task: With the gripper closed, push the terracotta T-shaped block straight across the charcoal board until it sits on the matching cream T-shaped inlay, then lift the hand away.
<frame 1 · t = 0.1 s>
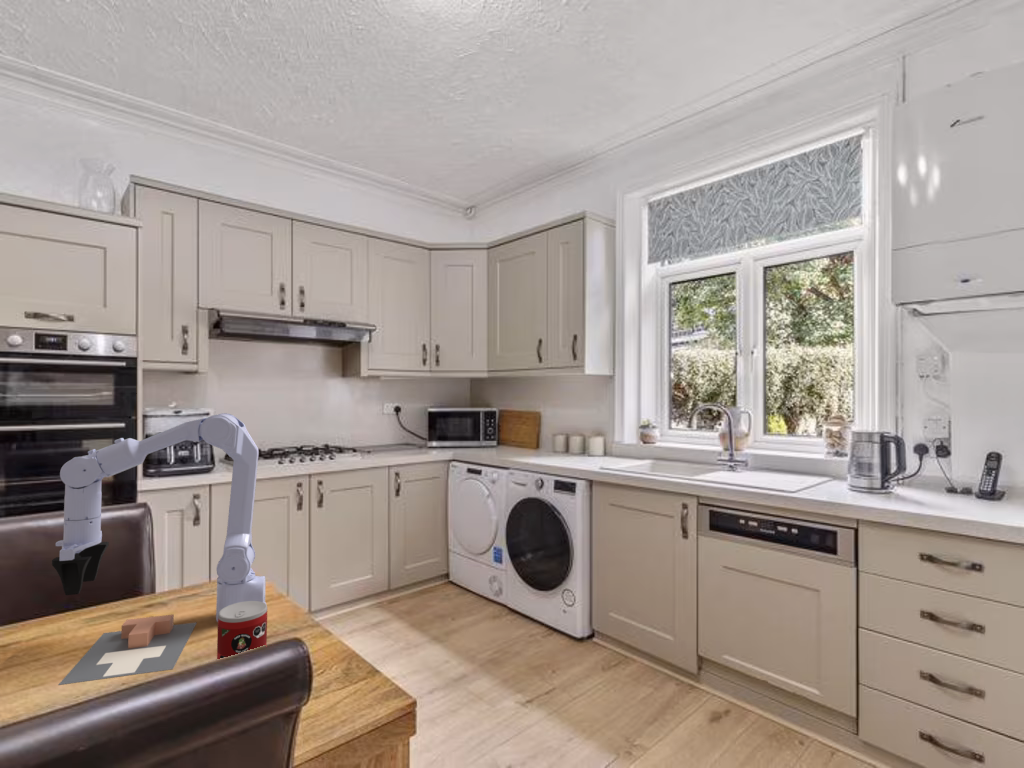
hand: (80, 587, 105), 10 cm above the table, tool pointing down, fingers open, 7 cm apart
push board: (135, 655, 99), on the table
t block: (147, 632, 106), point 1 cm above the table, touching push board
canned food: (241, 674, 93), on the table
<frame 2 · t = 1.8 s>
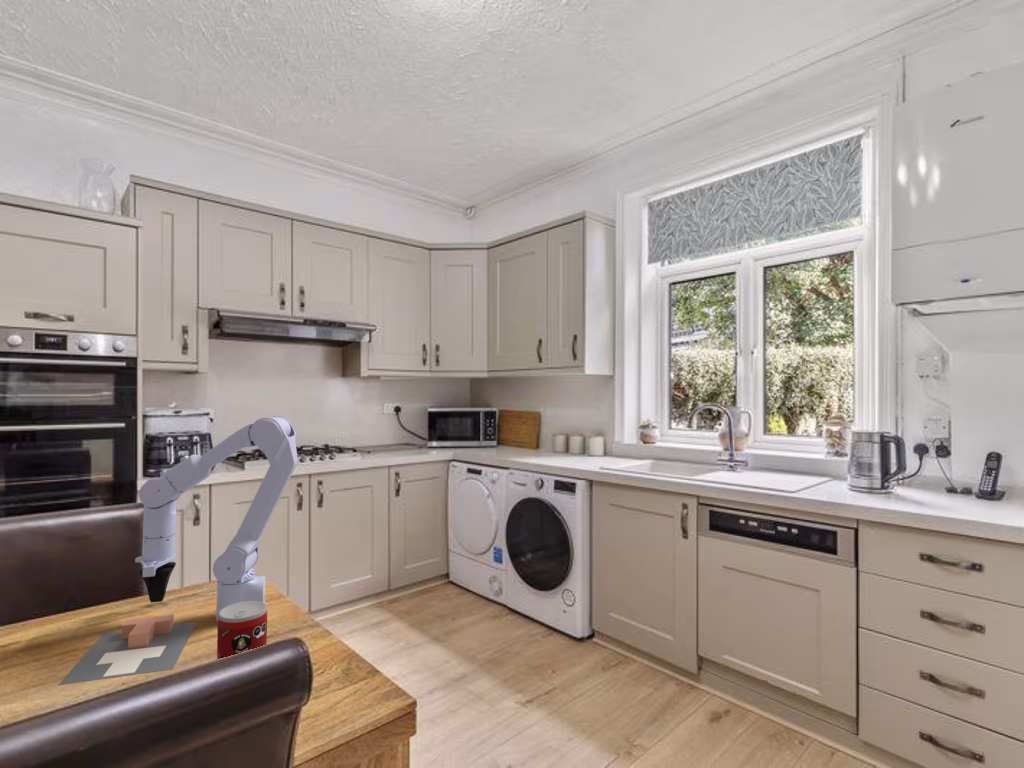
hand: (157, 600, 112), 5 cm above the table, tool pointing down, fingers closed
nothing on the table moved.
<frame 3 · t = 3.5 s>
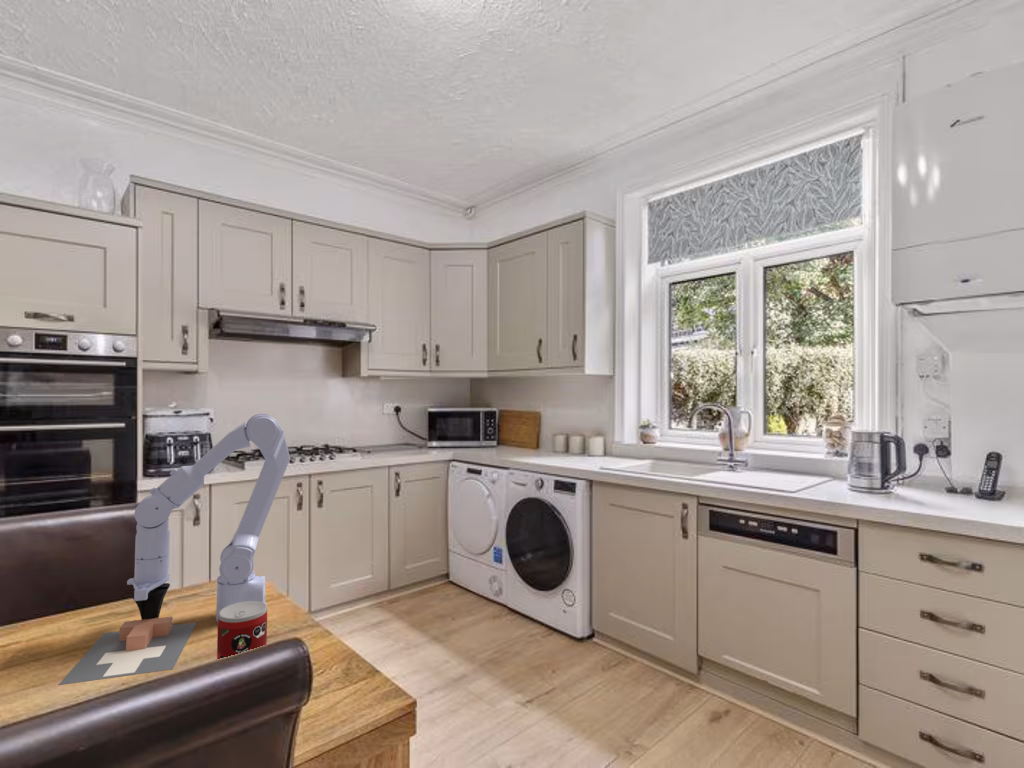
hand: (150, 624, 108), 2 cm above the table, tool pointing down, fingers closed
t block: (146, 634, 105), point 1 cm above the table, touching gripper, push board
everything else where it was.
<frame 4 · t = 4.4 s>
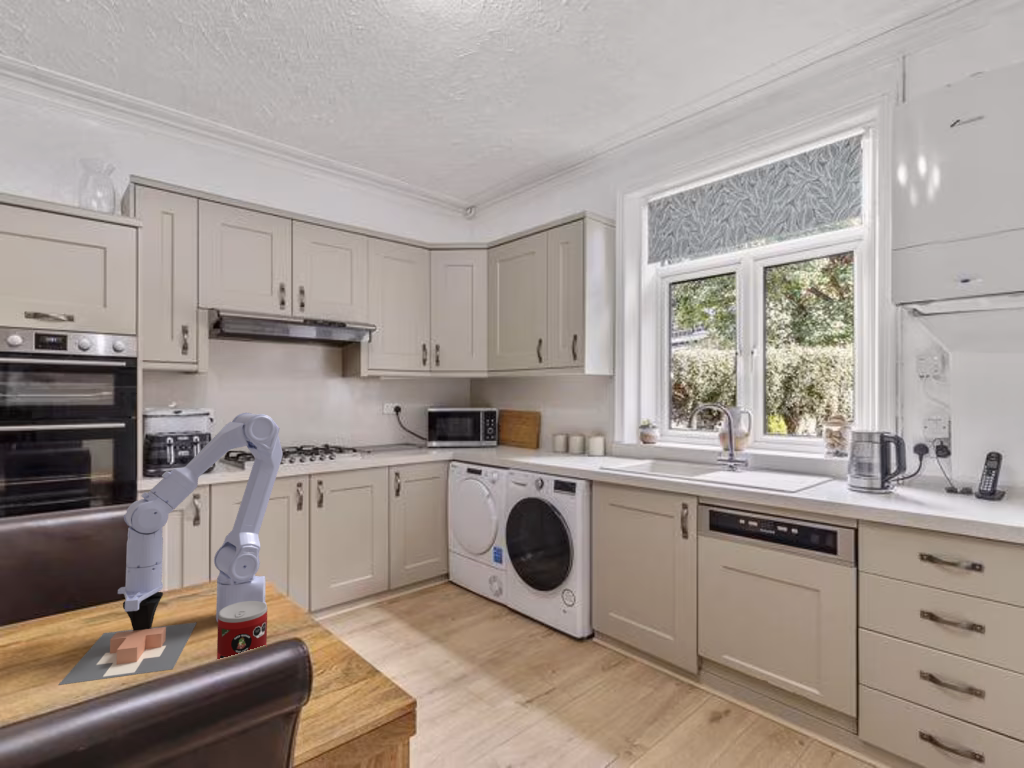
hand: (142, 635, 103), 2 cm above the table, tool pointing down, fingers closed
t block: (138, 646, 100), point 1 cm above the table, touching gripper
everything else where it was.
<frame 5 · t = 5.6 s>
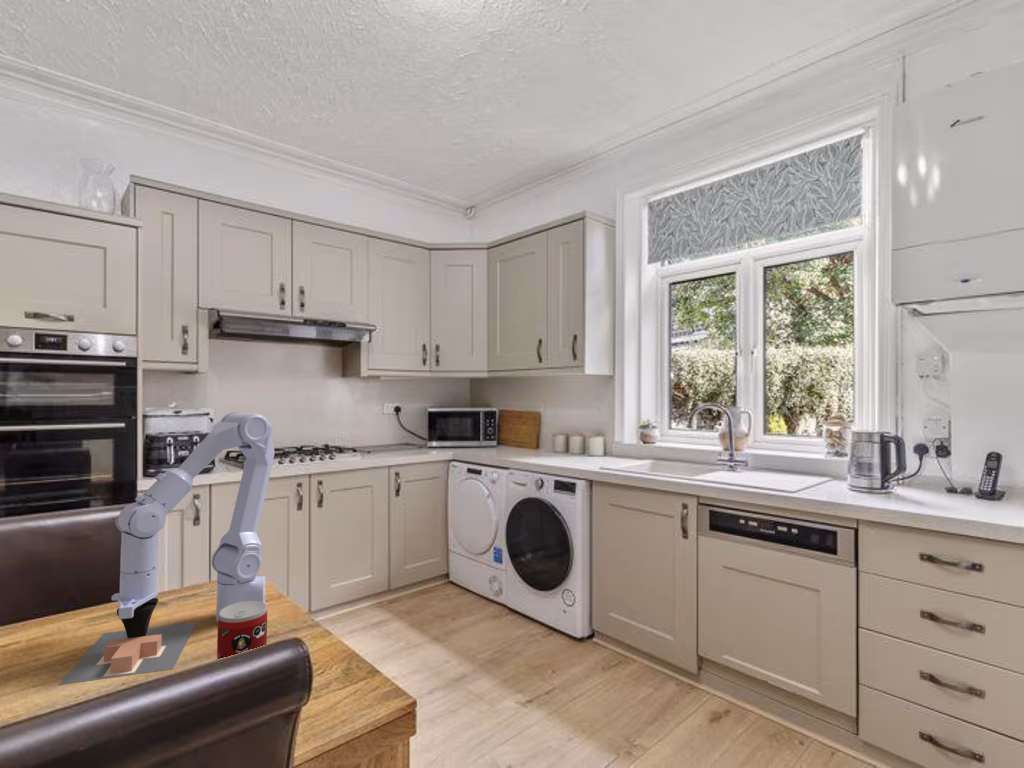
hand: (137, 643, 100), 2 cm above the table, tool pointing down, fingers closed
t block: (133, 654, 97), point 1 cm above the table, touching gripper, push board
everything else where it was.
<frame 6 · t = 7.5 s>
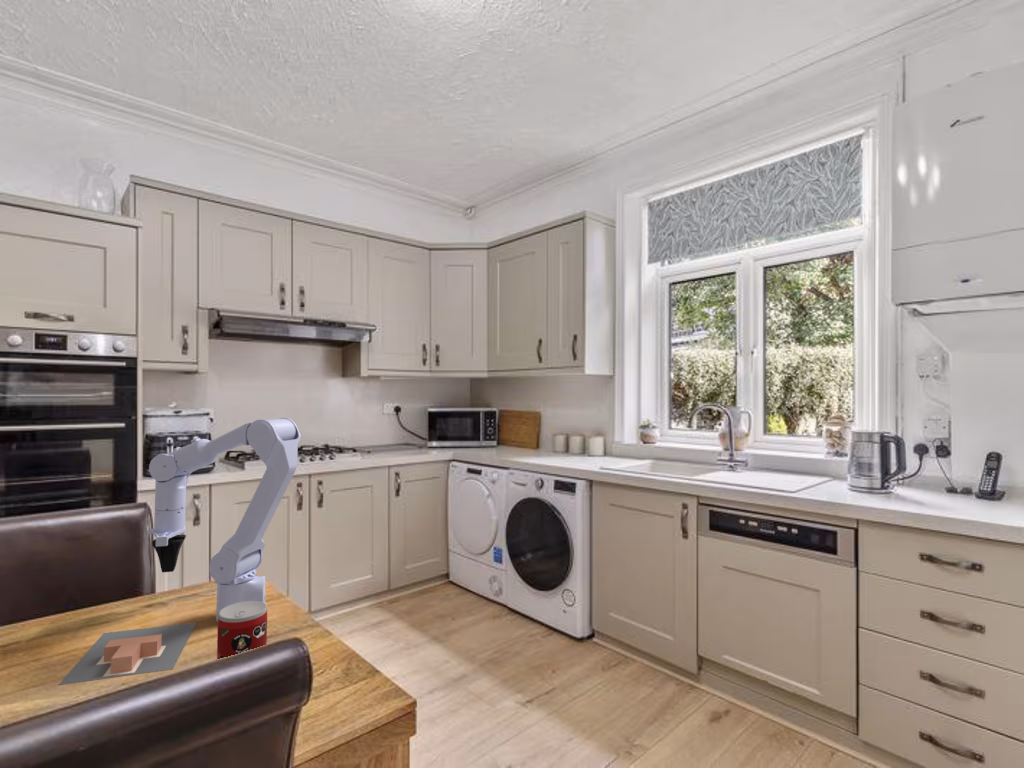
hand: (168, 571, 117), 9 cm above the table, tool pointing down, fingers closed
t block: (133, 654, 97), point 1 cm above the table, touching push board
everything else where it was.
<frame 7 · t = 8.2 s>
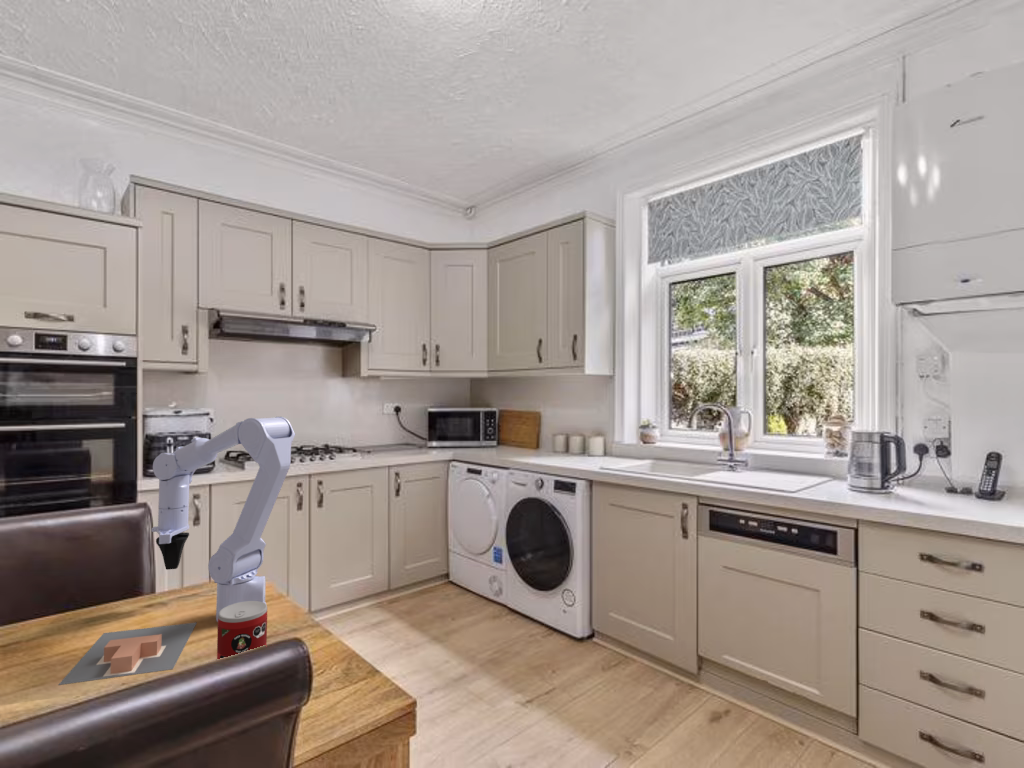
hand: (172, 568, 119), 9 cm above the table, tool pointing down, fingers closed
nothing on the table moved.
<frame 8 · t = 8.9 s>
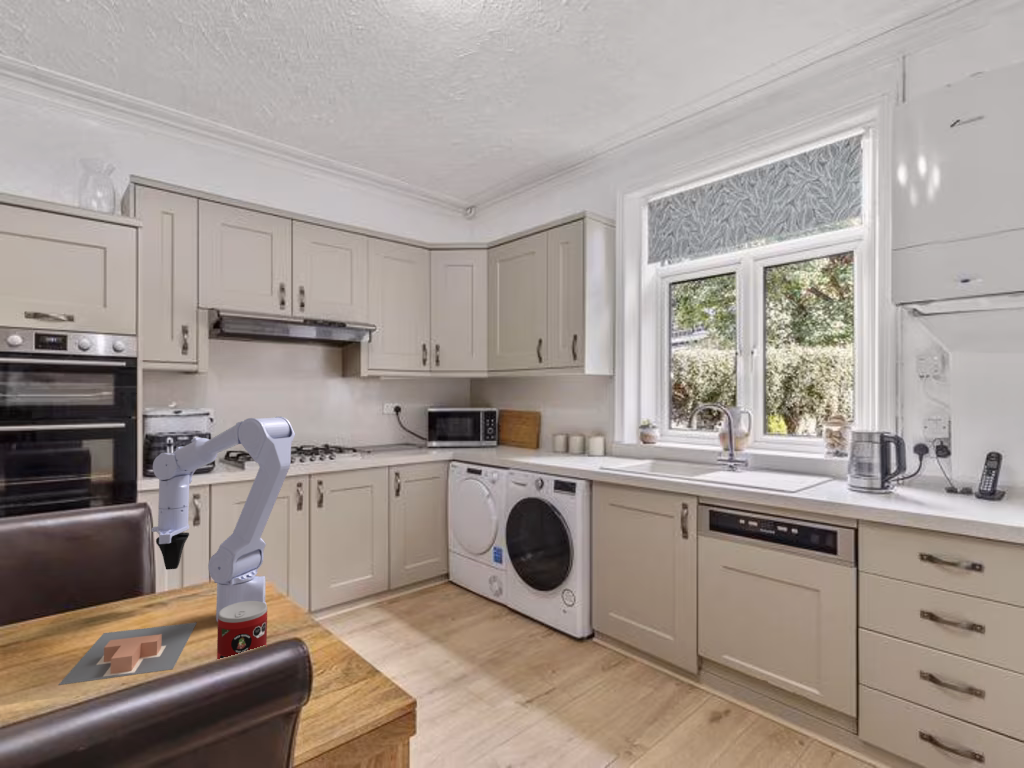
hand: (172, 568, 119), 9 cm above the table, tool pointing down, fingers closed
nothing on the table moved.
at the end: t block 0.1 cm from the target spot on the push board, point 1.0 cm above the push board's base; t block tilted 0° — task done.
